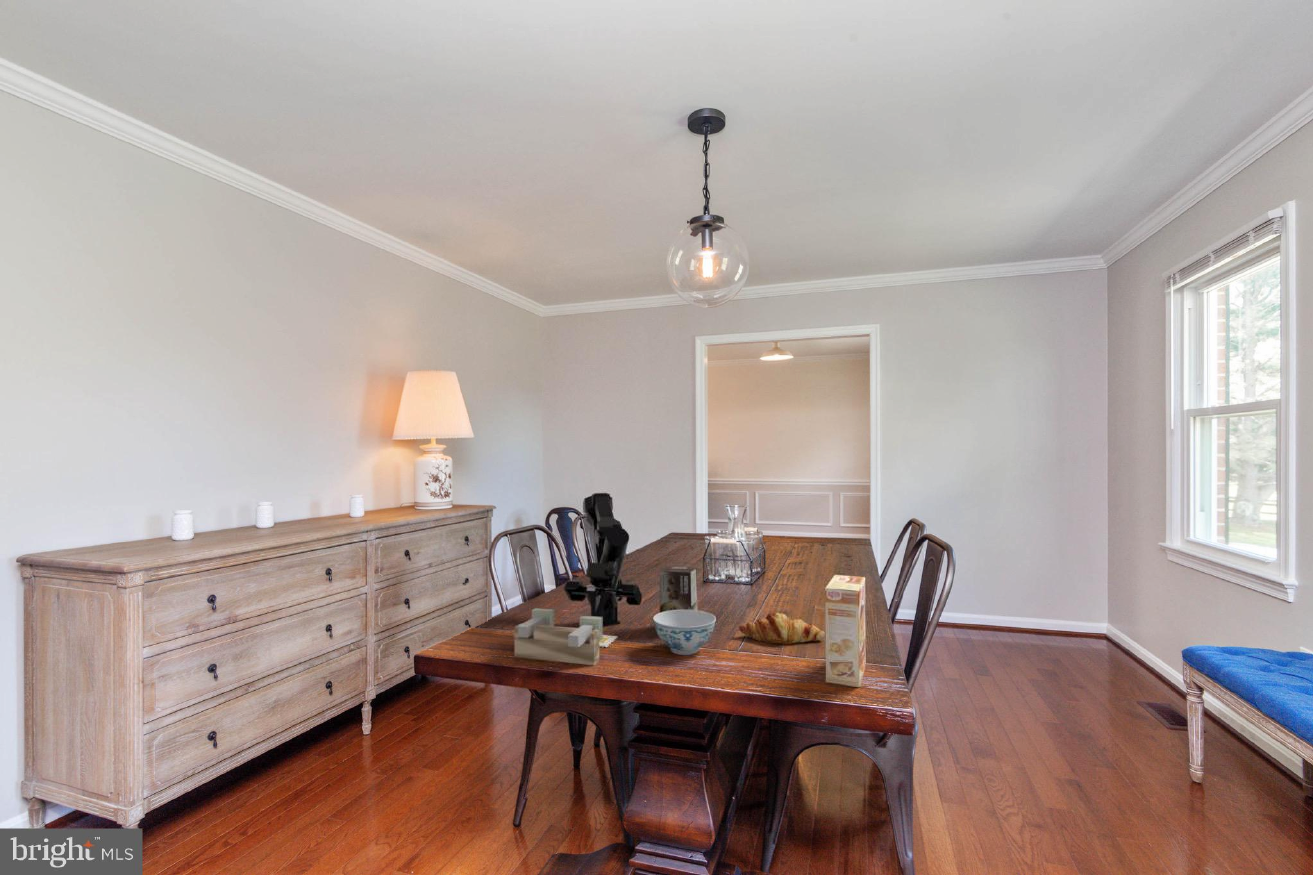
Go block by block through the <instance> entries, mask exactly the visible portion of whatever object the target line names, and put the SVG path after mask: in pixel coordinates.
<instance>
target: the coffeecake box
mask: <svg viewBox="0 0 1313 875" xmlns="http://www.w3.org/2000/svg"><path fill="white" fill-rule="evenodd" d="M824 591H825V595H824V596H825V597H824V598H825V600H824V602H825V604H824V605H825V607H824V608H825V610H824V611H825V612H824V613H825V683H827V684H828V683H829V684H837V685H840V686H841V685H843V686H848V687H856V688H861V685H862V681H863V677H864V673H865V669H866V665H867V661H866V660H867V657H866V656H867V655H866V647H867V646H866V642H867V641H866V577H865V576H858V575H857V576H856V575H842V574H841V575H840V574H834V575H833V576H832V578H831V579H830V580H829V582H828V583H827V585H826V586H825V588H824Z"/></svg>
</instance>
